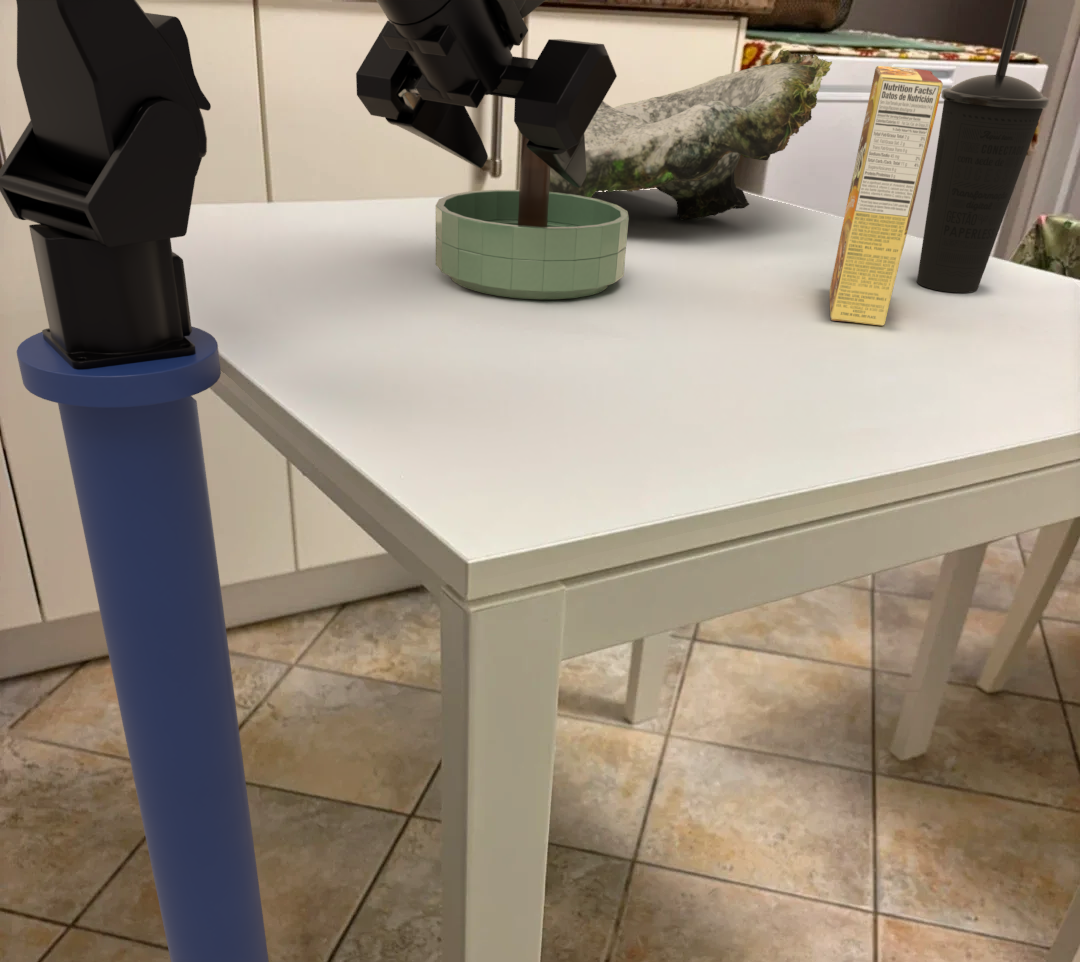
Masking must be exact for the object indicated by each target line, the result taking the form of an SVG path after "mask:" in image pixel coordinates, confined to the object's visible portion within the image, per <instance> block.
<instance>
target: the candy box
mask: <svg viewBox="0 0 1080 962" xmlns="http://www.w3.org/2000/svg"><path fill="white" fill-rule="evenodd" d="M873 74H874V75H873V79H872V83H871V88H870V93H869V97H868V102H867V107H866V110H865V115H864V116H865V117H864V122H863V125H862V131H861V135H860V139H859V144H858V149H857V153H856V158H855V163H854V168H853V171H852V177H851V183H850V187H849V192H848V197H847V202H846V205H845V211H844V212H845V213H844V217H843V221H842V227H841V231H840V235H839V236H840V237H839V241H838V247H837V252H836V257H835V261H834V266H833V271H832V276H831V281H830V285H829V311H830V312H829V314H830V315H829V316H830V321H833V322H844V323H845V322H846V323H856V324H865V325H874V326H884V325H885V324H886V320H887V315H888V312H889V308H890V305H891V299H892V295H893V292H894V287H895V283H896V279H897V275H898V271H899V268H900V263H901V259H902V255H903V250H904V247H905V244H906V238H907V235H908V231H909V227H910V224H911V223H910V222H911V220H912V219H911V218H912V215H913V210H914V206H915V202H916V198H917V194H918V189H919V186H920V181H921V177H922V173H923V169H924V164H925V161H926V160H925V159H926V158H927V157H926V156H927V153H928V148H929V144H930V142H931V141H930V140H931V136H932V132H933V128H934V124H935V120H936V115H937V111H938V107H939V103H940V98H941V95H942V91H943V86H944V85H943V84H944V83H943V81H942V80H941V79H939V78H938V77H937V76H935V74H933V72H932V71H931V70H926V69H919V68H911V67H899V66H887V65H877V66H876V67H875V69H874V72H873Z"/></svg>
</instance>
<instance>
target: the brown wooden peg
mask: <svg viewBox="0 0 1080 962" xmlns="http://www.w3.org/2000/svg"><path fill="white" fill-rule="evenodd" d="M520 134H521V133H520ZM528 141H529V139H528V138H526V137H525V136H524V135H522V134H521V135H520V160H519V163H520V164H519V183H518V184H519V186H518V187H519V189H518V190H519V210H518V225H522V226H538V227H547V222H548V203H549V184H550V166H549V165H547V164H546V163H545V162H544V161H543V160H542V159H540V158H539V157H538V156H537V155H536V154H534V153H533V152H532V151H531V150H530V149H528V148H527V146H526V144H527V143H528Z"/></svg>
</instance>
